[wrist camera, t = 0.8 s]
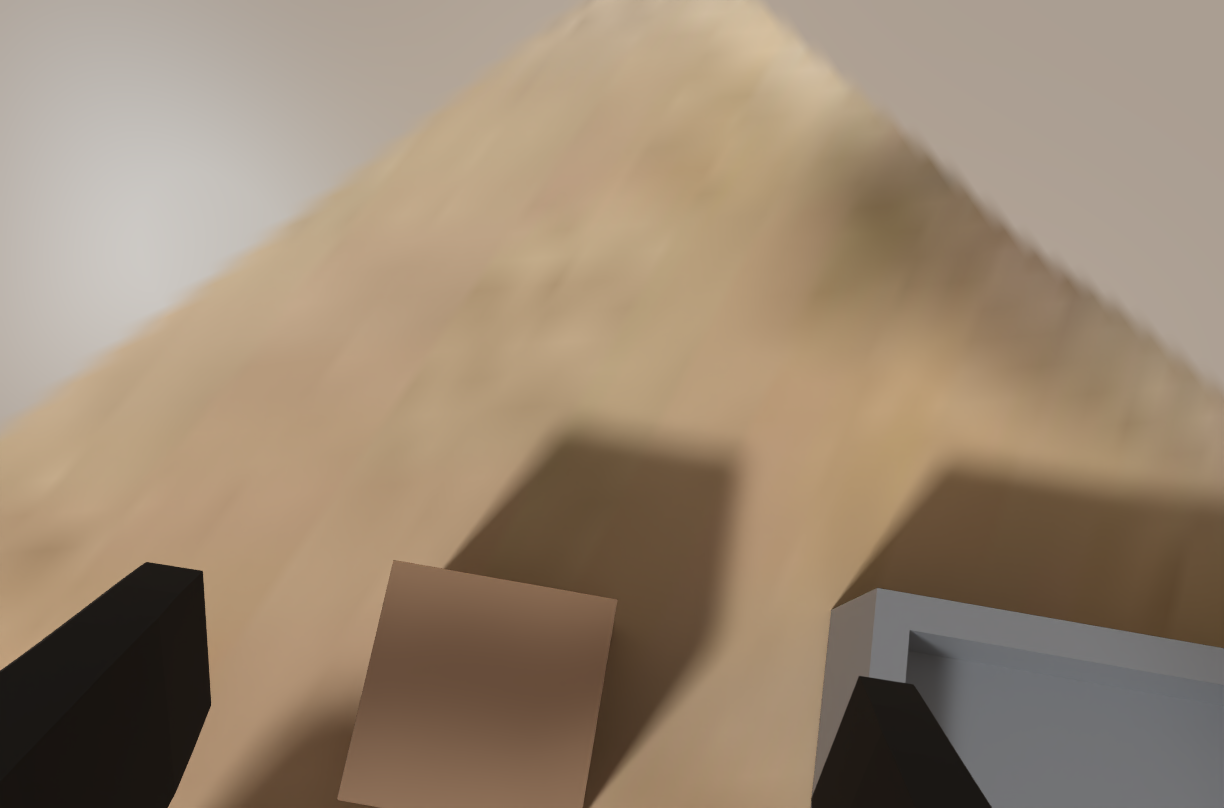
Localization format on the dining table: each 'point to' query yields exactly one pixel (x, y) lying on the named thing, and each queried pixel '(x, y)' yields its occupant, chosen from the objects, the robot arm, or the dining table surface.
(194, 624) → the robot arm
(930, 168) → the dining table surface
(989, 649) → the tote
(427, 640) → the walnut cube
